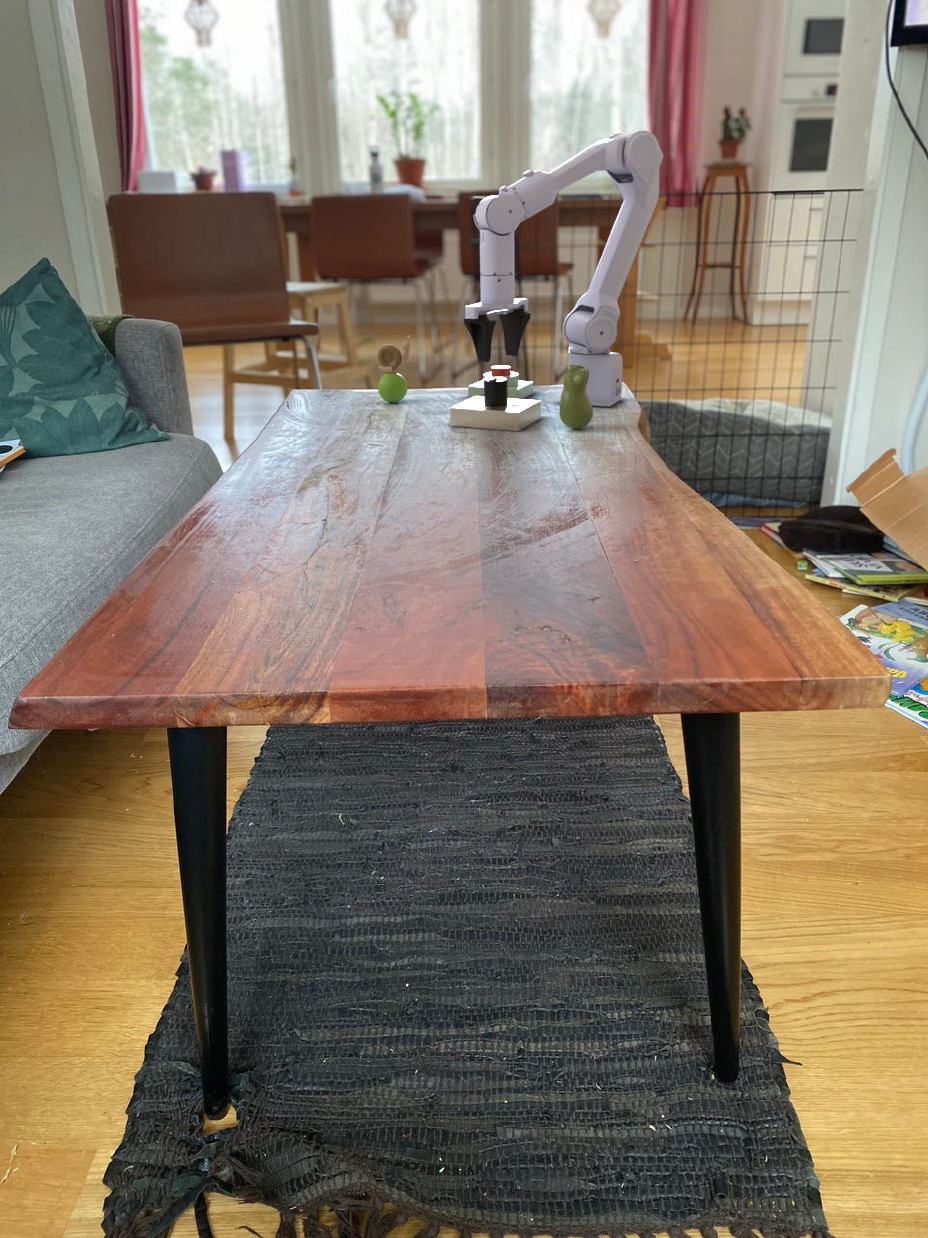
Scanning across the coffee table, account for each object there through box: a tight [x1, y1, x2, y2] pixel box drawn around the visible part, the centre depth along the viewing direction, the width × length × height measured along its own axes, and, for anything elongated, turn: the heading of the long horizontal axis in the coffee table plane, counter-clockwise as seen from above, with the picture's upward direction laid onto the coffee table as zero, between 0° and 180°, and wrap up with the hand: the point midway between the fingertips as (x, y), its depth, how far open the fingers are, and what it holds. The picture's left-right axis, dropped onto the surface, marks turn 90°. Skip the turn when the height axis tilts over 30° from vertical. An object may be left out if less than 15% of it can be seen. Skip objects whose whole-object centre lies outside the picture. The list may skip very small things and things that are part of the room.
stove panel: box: [449, 396, 541, 432], centre depth 155 cm, size 12×10×3 cm
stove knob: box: [482, 377, 508, 406], centre depth 154 cm, size 4×4×4 cm
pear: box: [559, 365, 594, 430], centre depth 148 cm, size 6×5×10 cm
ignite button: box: [490, 364, 512, 376], centre depth 175 cm, size 4×4×2 cm
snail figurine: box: [377, 334, 411, 404], centre depth 170 cm, size 5×6×12 cm
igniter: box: [467, 371, 534, 399], centre depth 176 cm, size 10×8×4 cm
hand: (498, 358), depth 161 cm, fingers open, 7 cm apart
